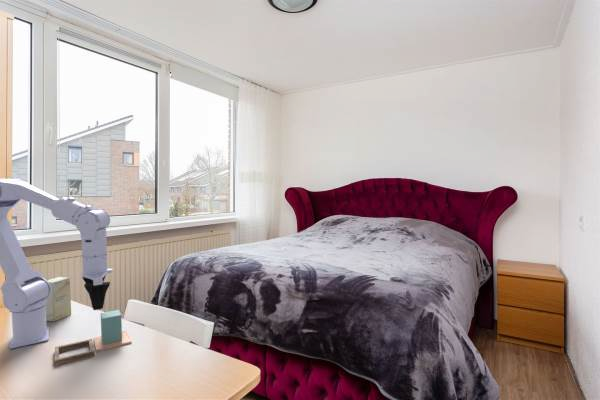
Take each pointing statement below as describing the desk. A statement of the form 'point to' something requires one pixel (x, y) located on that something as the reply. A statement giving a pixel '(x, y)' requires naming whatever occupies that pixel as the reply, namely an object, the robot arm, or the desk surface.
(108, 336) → the teal block
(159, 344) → the desk surface
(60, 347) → the pocket frame
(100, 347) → the terracotta tile
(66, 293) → the skincare box
